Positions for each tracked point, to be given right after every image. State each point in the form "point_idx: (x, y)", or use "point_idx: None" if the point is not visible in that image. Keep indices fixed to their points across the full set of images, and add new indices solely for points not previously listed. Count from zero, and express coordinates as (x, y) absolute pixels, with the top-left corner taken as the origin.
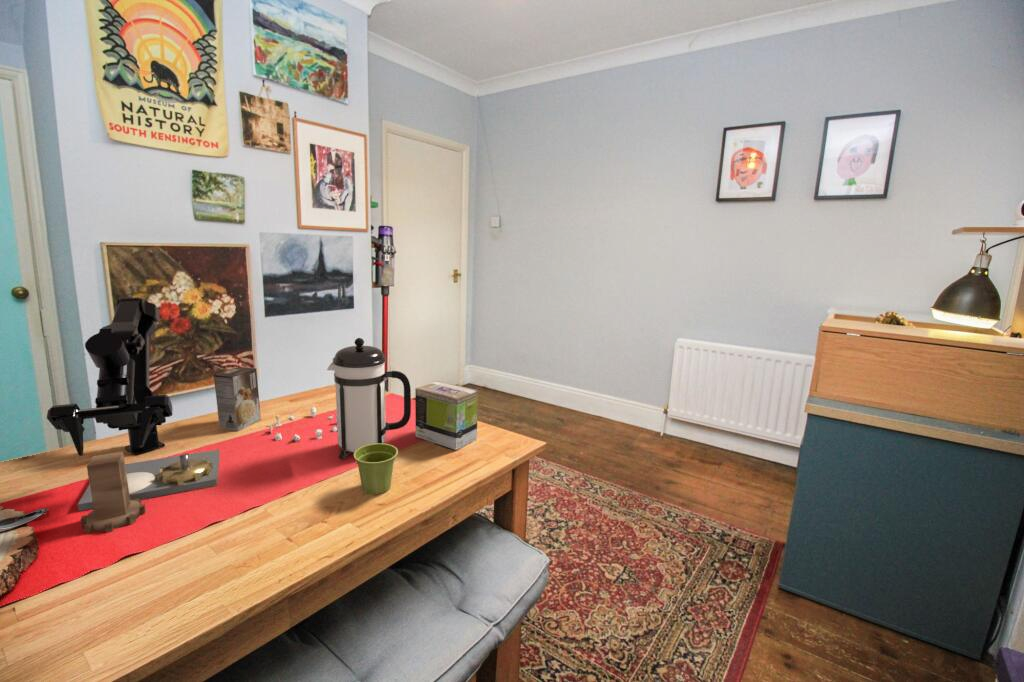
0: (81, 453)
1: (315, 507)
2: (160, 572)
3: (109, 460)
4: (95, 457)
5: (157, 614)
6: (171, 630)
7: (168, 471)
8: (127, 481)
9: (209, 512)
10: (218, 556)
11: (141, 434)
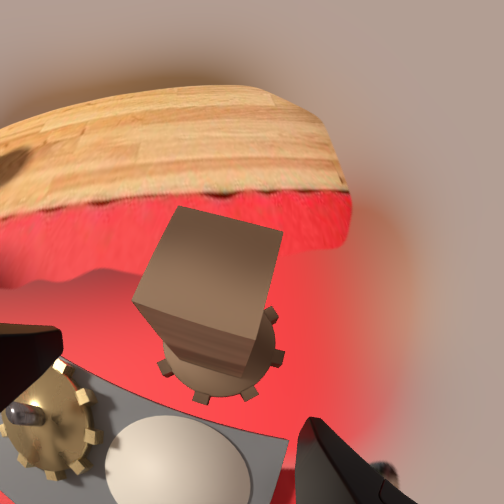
0: (304, 428)
1: (24, 169)
2: (199, 146)
3: (201, 233)
4: (247, 312)
5: (221, 106)
6: (217, 93)
7: (69, 432)
8: (168, 492)
9: (86, 239)
10: (142, 139)
11: (15, 330)
